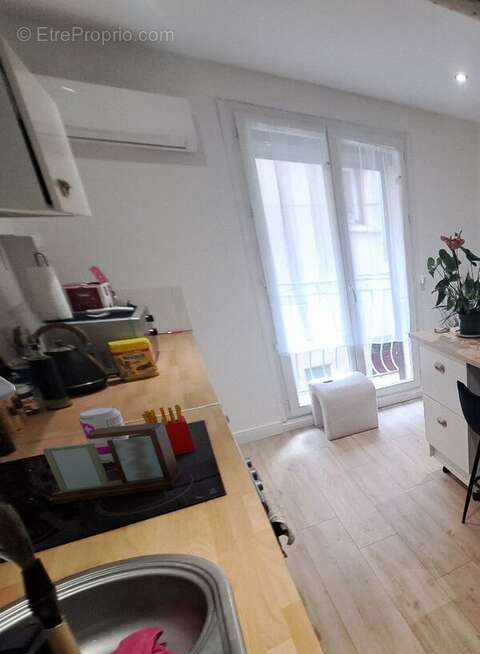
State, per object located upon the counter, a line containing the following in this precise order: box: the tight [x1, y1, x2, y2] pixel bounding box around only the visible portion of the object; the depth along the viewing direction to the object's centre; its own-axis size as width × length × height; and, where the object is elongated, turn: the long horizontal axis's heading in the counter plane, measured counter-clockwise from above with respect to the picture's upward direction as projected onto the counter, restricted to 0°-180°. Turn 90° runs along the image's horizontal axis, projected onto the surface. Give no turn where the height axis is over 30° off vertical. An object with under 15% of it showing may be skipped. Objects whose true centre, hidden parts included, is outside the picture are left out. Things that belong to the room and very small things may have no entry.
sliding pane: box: [42, 442, 110, 492], centre depth 100 cm, size 9×1×12 cm, turn 111°
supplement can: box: [78, 406, 130, 464], centre depth 119 cm, size 8×8×15 cm
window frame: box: [49, 422, 182, 506], centre depth 103 cm, size 24×6×17 cm, turn 111°
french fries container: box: [141, 404, 196, 457], centre depth 123 cm, size 7×9×14 cm
